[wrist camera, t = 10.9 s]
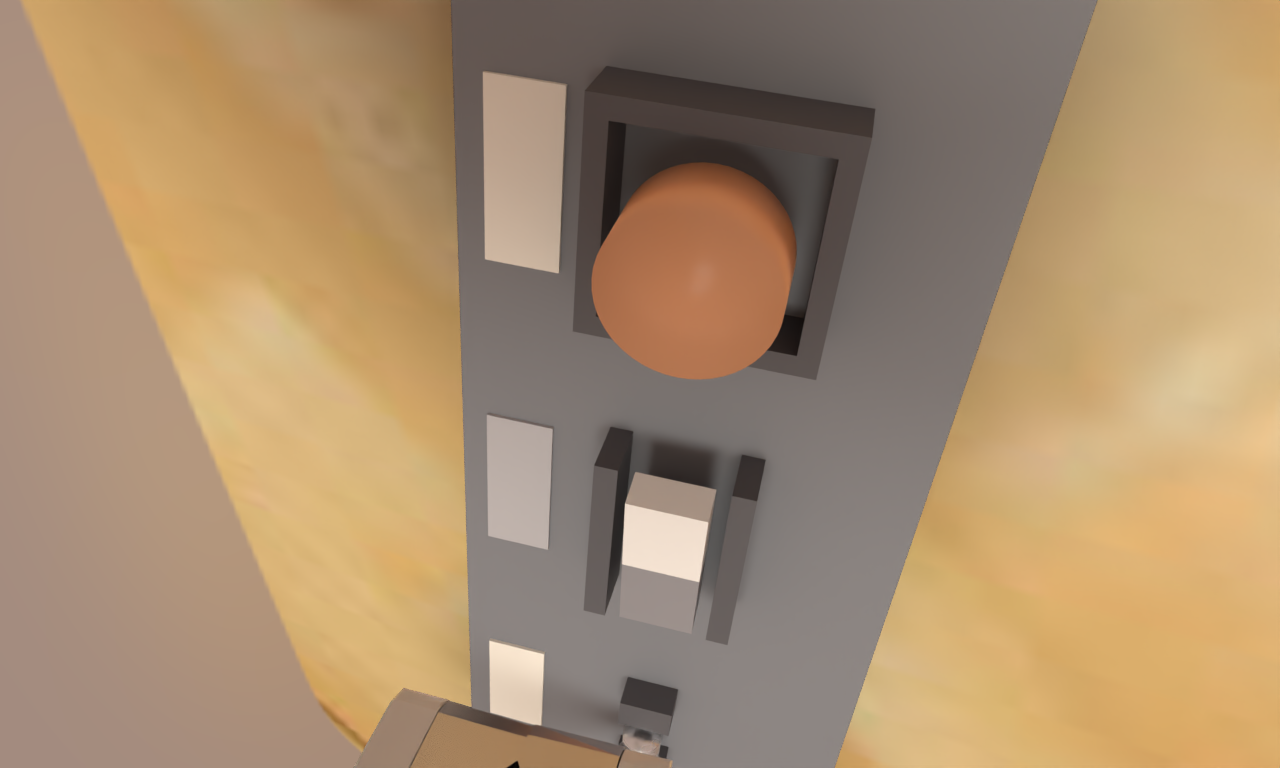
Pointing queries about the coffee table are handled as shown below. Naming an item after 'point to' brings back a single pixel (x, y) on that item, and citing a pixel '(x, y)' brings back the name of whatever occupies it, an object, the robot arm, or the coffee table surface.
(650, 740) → the toggle lever
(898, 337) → the control panel
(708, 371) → the push button
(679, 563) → the rocker switch
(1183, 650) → the coffee table surface
